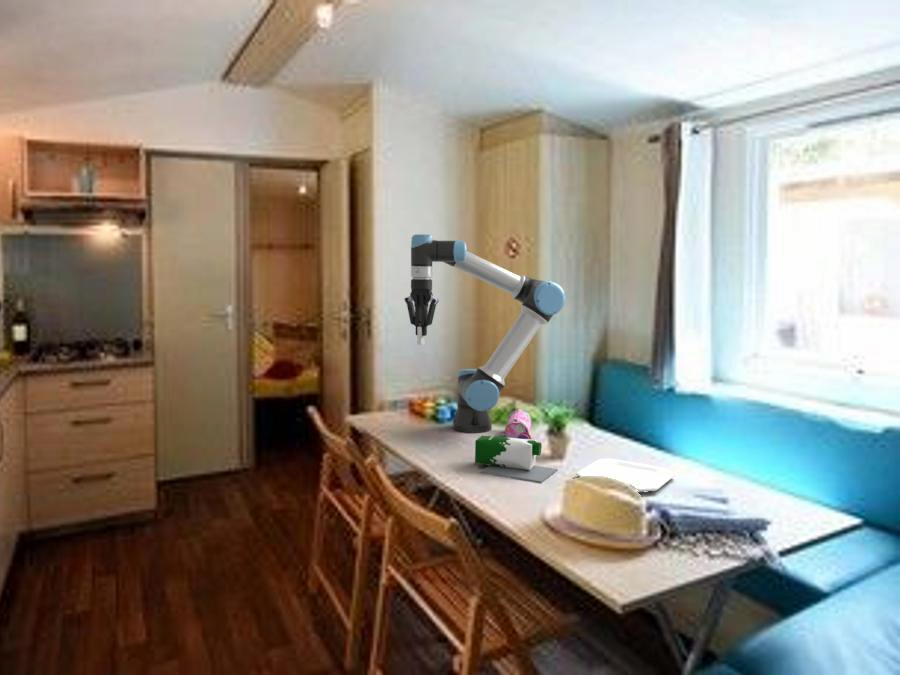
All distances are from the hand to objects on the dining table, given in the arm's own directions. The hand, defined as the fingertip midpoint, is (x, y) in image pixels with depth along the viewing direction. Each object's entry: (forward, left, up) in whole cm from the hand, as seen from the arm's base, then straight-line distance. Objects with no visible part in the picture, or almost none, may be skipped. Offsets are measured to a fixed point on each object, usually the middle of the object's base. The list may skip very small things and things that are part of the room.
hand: (421, 344), depth 251 cm
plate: (-5, +77, -35) cm, 85 cm away
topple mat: (+10, +49, -34) cm, 60 cm away
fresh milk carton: (+12, +34, -29) cm, 47 cm away
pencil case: (-25, +26, -35) cm, 50 cm away
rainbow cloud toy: (-8, +39, -35) cm, 53 cm away
